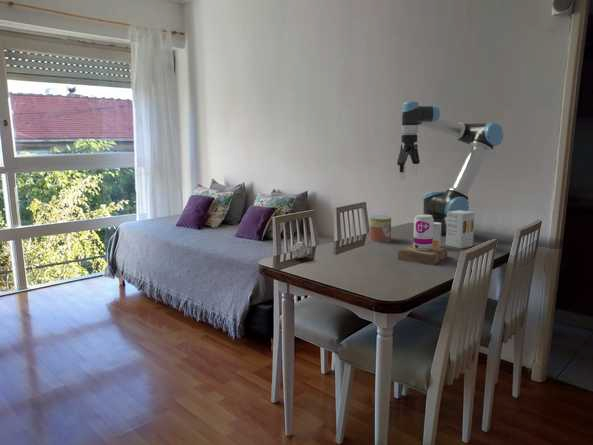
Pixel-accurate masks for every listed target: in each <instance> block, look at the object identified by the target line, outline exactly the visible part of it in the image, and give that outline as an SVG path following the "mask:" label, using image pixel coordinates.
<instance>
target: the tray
mask: <svg viewBox="0 0 593 445" xmlns="http://www.w3.org/2000/svg"><path fill="white" fill-rule="evenodd" d="M446 258H448V248H445V247H441V246H440V247H433V248H432V249H431V250H430V251H419V250H415V248H414V247H413V244H411V245H409V246H407V247H404V248H402V249H400V250H398V251H397V260H400V261H407V262H411V263H412V262H413V263H420V264H424V265H430V266H431V265H432V266H433V265H435V264H437V263H439V262H441V261H443V260H445V259H446Z"/></svg>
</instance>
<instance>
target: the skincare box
mask: <svg viewBox="0 0 593 445" xmlns="http://www.w3.org/2000/svg"><path fill="white" fill-rule="evenodd" d="M441 225H442V223H438V222H434V226H433V247H440V248H441V239H442V235H441Z"/></svg>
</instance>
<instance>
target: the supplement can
mask: <svg viewBox="0 0 593 445" xmlns="http://www.w3.org/2000/svg"><path fill="white" fill-rule="evenodd" d="M433 226H434V219H433V217H432V215H427V214H423V213H422V214H421V213H420V214H416V215H415V217H414V219H413V240H412V242H413V244H412V245H413V247H414V248H415V250H419V251H430V250H431V249H432V248H433Z"/></svg>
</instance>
